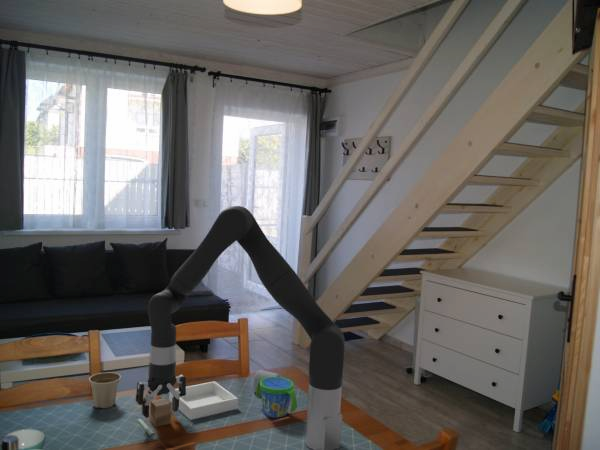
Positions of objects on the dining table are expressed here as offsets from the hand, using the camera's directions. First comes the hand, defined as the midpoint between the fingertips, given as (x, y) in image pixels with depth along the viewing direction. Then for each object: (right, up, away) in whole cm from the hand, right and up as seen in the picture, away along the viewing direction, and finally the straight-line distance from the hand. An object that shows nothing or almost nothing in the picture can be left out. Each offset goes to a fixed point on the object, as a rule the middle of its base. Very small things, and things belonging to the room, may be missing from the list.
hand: (160, 413), depth 150 cm
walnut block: (0, -3, 0) cm, 3 cm away
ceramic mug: (+29, -3, +28) cm, 41 cm away
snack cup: (+33, -5, +11) cm, 35 cm away
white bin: (+10, -3, +14) cm, 17 cm away
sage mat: (0, -3, 0) cm, 3 cm away
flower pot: (-21, -1, +11) cm, 23 cm away
